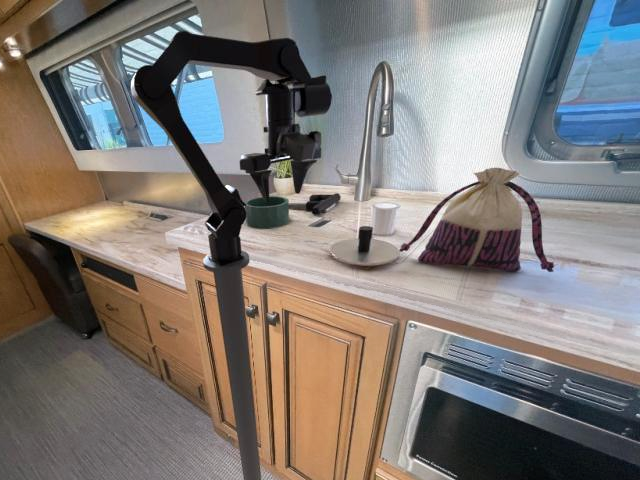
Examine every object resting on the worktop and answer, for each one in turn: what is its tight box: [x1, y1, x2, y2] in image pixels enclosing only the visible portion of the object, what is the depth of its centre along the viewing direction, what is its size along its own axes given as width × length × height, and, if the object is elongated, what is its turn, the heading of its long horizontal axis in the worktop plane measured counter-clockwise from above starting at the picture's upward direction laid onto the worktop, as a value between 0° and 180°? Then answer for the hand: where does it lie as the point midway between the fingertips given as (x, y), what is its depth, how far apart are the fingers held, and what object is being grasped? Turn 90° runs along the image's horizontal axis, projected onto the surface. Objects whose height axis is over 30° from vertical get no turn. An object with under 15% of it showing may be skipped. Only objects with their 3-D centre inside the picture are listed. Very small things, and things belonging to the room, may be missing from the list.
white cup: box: [370, 201, 401, 236], centre depth 81 cm, size 7×7×7 cm
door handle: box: [289, 192, 342, 216], centre depth 108 cm, size 3×20×16 cm
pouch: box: [398, 167, 555, 273], centre depth 58 cm, size 25×8×19 cm, turn 63°
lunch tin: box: [244, 195, 290, 229], centre depth 98 cm, size 14×14×6 cm
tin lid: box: [329, 225, 400, 266], centre depth 69 cm, size 15×15×6 cm
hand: (282, 197), depth 71 cm, fingers open, 9 cm apart
